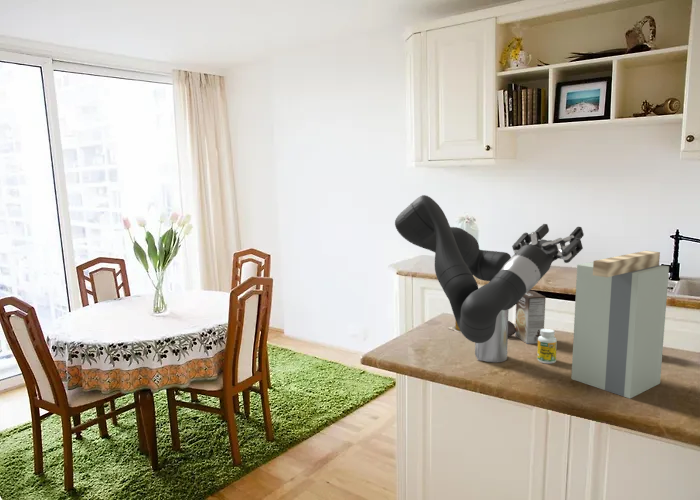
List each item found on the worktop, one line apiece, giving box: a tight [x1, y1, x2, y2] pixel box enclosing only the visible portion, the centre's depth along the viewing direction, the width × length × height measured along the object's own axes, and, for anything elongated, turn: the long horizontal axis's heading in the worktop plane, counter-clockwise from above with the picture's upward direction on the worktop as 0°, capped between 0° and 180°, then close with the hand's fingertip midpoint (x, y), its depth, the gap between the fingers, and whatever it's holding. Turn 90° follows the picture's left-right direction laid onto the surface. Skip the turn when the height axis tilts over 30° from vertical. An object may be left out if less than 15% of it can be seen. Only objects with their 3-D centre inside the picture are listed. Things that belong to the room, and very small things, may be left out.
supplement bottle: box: [536, 328, 558, 365], centre depth 158 cm, size 5×5×10 cm
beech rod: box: [592, 250, 661, 277], centre depth 131 cm, size 26×4×4 cm, turn 126°
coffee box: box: [514, 290, 547, 345], centre depth 178 cm, size 9×6×16 cm
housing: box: [571, 261, 670, 399], centre depth 140 cm, size 16×16×32 cm
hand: (563, 228), depth 119 cm, fingers open, 8 cm apart
